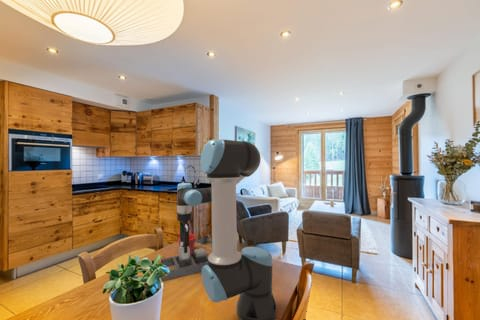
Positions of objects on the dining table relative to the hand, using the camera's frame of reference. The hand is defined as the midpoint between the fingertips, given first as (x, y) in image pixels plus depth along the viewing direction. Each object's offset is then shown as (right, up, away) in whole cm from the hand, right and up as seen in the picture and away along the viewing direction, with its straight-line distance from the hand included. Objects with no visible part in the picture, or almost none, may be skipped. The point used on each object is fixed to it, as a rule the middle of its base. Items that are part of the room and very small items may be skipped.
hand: (184, 256), depth 111 cm
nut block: (0, -4, 0) cm, 4 cm away
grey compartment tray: (0, -7, 0) cm, 7 cm away
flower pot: (-3, -7, +19) cm, 21 cm away
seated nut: (+8, -7, +4) cm, 11 cm away
